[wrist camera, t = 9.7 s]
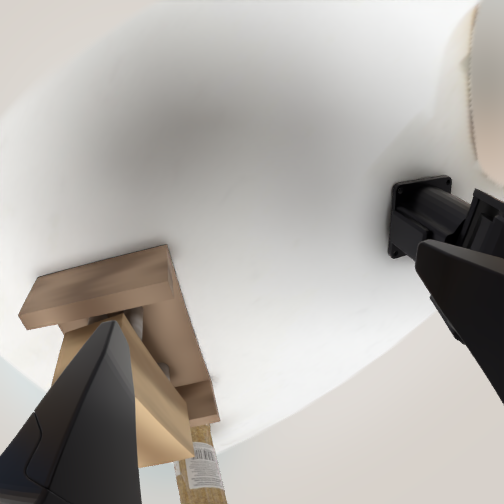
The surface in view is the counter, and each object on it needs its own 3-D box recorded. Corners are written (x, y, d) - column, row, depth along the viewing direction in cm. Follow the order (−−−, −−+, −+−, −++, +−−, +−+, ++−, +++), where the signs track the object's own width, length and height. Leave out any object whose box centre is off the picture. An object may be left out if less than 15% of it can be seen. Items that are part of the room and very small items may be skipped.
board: (123, 312, 18) (116, 375, 14) (186, 403, 23) (195, 456, 19) (65, 332, 18) (49, 392, 13) (137, 415, 23) (139, 467, 18)
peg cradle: (167, 244, 21) (168, 280, 17) (211, 382, 28) (220, 421, 24) (37, 277, 19) (17, 315, 15) (112, 401, 26) (110, 438, 22)
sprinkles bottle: (160, 428, 30) (175, 542, 18) (186, 410, 29) (209, 533, 17) (192, 439, 32) (214, 544, 20) (219, 422, 31) (248, 534, 20)
